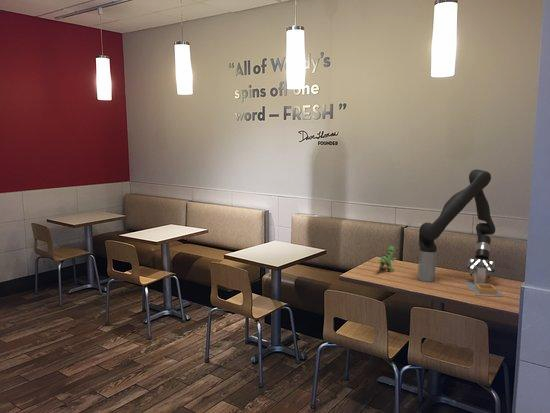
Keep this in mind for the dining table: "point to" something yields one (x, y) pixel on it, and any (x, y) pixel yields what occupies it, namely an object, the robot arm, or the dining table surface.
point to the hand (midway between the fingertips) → (479, 276)
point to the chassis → (483, 289)
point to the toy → (387, 260)
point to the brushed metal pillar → (479, 275)
